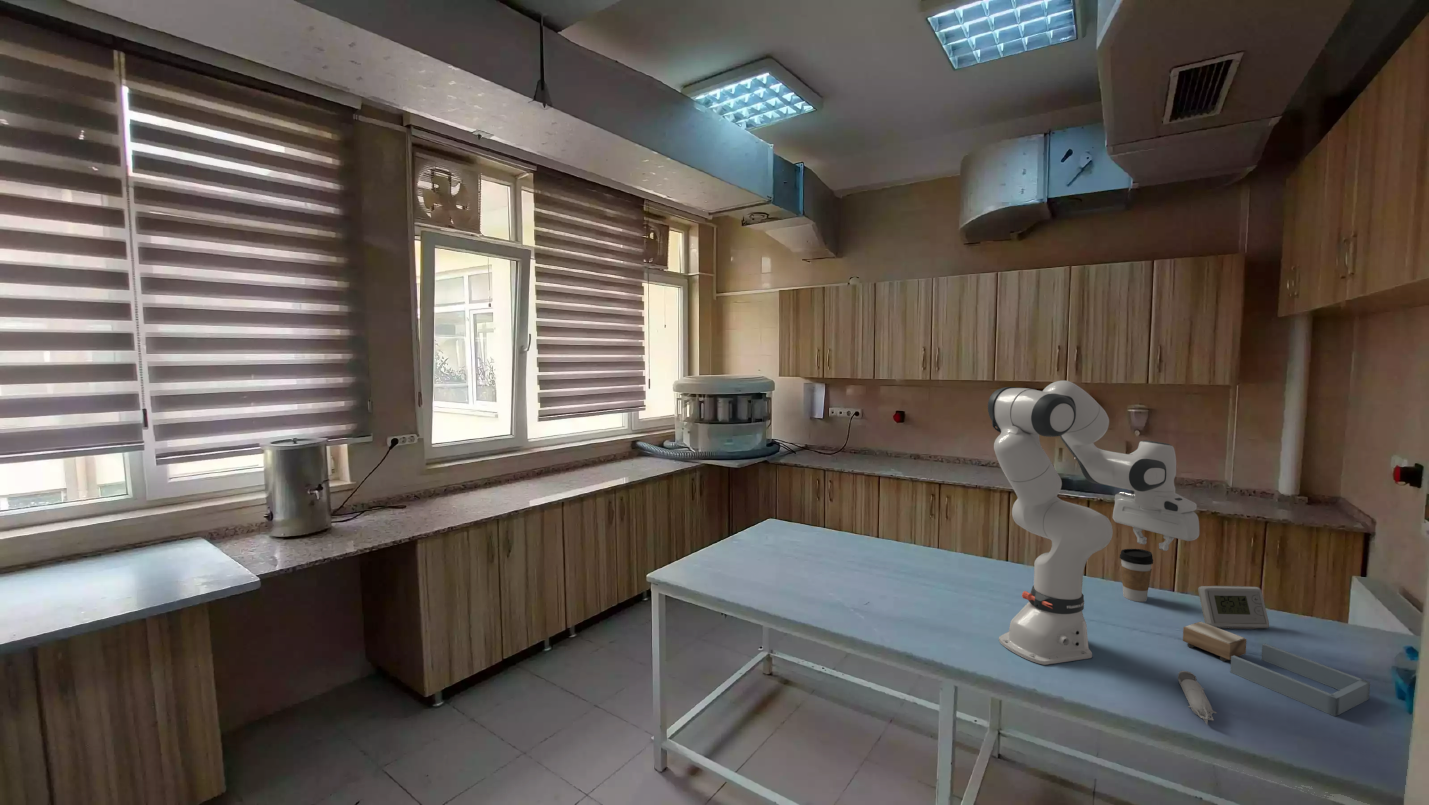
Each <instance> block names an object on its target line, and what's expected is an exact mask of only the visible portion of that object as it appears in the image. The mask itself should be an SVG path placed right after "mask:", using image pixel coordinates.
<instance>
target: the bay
mask: <svg viewBox="0 0 1429 805" xmlns="http://www.w3.org/2000/svg"><path fill="white" fill-rule="evenodd" d="M1260 658H1261V661H1264V662H1266V663H1268V664H1271V665H1273V666H1275V667H1276V666H1277V667H1279V668H1281V669H1284V670H1286V671H1289V672H1292V673H1294V674H1296V675H1300V676H1302V677H1305V678H1307V679H1309V680H1313V681H1315V682H1317V683H1320V684H1323V685H1324V686H1327V687H1330V688H1333V689H1336V690H1337V691H1335V692H1333V693H1329V692H1327V691H1326V690H1325V691H1324V690H1323V689H1321V688H1320V689H1319V688H1318V687H1314V686H1312V685H1309V684H1308V683H1305V682H1302V681H1300V680H1297V679H1294V678H1293V677H1290V676H1287V675H1285V674H1282V673H1279V672H1276V671H1275V670H1272V669H1269V668H1266V667H1265V666H1261V665H1259V664H1257V663H1255V662H1252V661H1249V660H1247V659H1244V658H1243V657H1242V658H1241V657H1240V656H1238V657H1237V656H1231V660H1230V669H1229V670H1230V673H1231V674H1233V675H1236V676H1239V677H1241V678H1243V679H1245V680H1248V681H1249V682H1252V683H1255V684H1257V685H1258V686H1259V685H1260V686H1262V687H1264V688H1267V689H1269V690H1272V691H1274V692H1276V693H1278V694H1281V695H1283V696H1285V697H1287V698H1291V699H1293V700H1295V701H1297V702H1299V703H1302V704H1304V705H1306V706H1309V707H1311V708H1314V709H1316V710H1319V711H1321V712H1323V713H1326V714H1328V715H1331V716H1333V717H1338V716H1339V715H1342V714H1344V713H1345V712H1347V711H1349V710H1350V709H1353V708H1355V707H1357V706H1358V705H1361V704H1362V703H1365V702H1366V701H1368V700H1370V694H1371V693H1370V689H1371V681H1368V680H1366V679H1362V678H1360V677H1358V676H1354V675H1352V674H1349V673H1347V672H1343V671H1341V670H1338V669H1336V668H1333V667H1330V666H1327V665H1324V664H1322V663H1319V662H1317V661H1313V660H1311V659H1308V658H1305V657H1303V656H1300V655H1298V654H1295V653H1292V652H1289V651H1287V650H1284V649H1281V648H1279V647H1276V646H1273V645H1270V644H1268V643H1263V644H1261V657H1260Z"/></svg>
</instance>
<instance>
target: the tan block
mask: <svg viewBox="0 0 1429 805" xmlns="http://www.w3.org/2000/svg"><path fill="white" fill-rule="evenodd" d="M1182 629H1183V630H1182V642H1185V643H1186V645H1187V647H1188V648H1189V649H1192V648H1195V647H1197V648H1199V649H1202V650H1204V651H1206V652H1209V653H1211V654H1214V655H1216V656H1219V660H1220V661H1222V662H1226V661H1231V656H1237V657H1241V656H1243V655H1245V654H1247V640H1248V639H1247V638H1245V637H1244V636H1241V635H1239V634H1235V633H1233V632H1230V631H1227V630H1224V629H1223V628H1220V627H1214V626H1211V625H1209V624H1206V623H1205V622H1203V621H1198V622H1195V623H1192V624H1189V625H1185V626H1183V628H1182Z"/></svg>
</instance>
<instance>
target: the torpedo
mask: <svg viewBox="0 0 1429 805" xmlns="http://www.w3.org/2000/svg"><path fill="white" fill-rule="evenodd" d="M1177 680H1178V683H1179V684H1180V687H1181V689H1182V691H1183V693H1184V697H1185V698H1186V700H1187V703H1188V704H1189V705H1188V708H1190V709H1191V710H1192V712H1193V713H1194V715H1196V716H1198V717H1199V718H1200V719H1203V721H1204V722H1205V724H1206V725H1207V726H1208V725H1209V721H1212V722H1214V721H1215V720H1214V717H1213V714H1218V712H1217V711H1215V710H1214V709H1213V707H1212V704H1211V703H1210V701H1209V699H1208V697H1207V695H1206V694H1205V691H1204V690H1205V688H1204V687H1202V686H1201V683H1199V682H1198V681H1197V676H1196V675H1195V674H1194V673H1192V672H1191V671H1186V670H1180V671H1178V674H1177Z"/></svg>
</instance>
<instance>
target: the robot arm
mask: <svg viewBox="0 0 1429 805" xmlns="http://www.w3.org/2000/svg"><path fill="white" fill-rule="evenodd" d="M987 413H988V416H989V418H990V420H991V424H992V425H991V426H992V427H993V429H994V430H995V431H996V432H998V433H1000V434H998V436H997V437H996V438H995V439H994V443H993V450H994V453H995V457H996V459H997V462H998V465H999V467H1000V468H1001V471H1002V472H1003V473H1004V476H1005V477H1006V479H1007V481H1008V483H1009V484H1010V486H1011V487H1012V489H1013V491H1014V493H1015V495H1016V497H1017V499H1016V500H1015V501H1014V503H1013V505H1012V509H1011V515H1012V519H1013V521H1014V523H1015V524H1016V525H1017V526H1019V527H1020V528H1022V529H1024V530H1025V531H1027V532H1028V533H1031V534H1033V535H1036V536H1039V537H1042V538H1044V539H1048V540H1051V548H1050V551H1048V552H1044V553H1042V554H1040V555H1039V556H1037V557H1036V558H1035V560H1034V562H1033V563H1034V565H1033V566H1034V568H1033V569H1034V570H1033V585H1032V587H1031V590H1030V592H1028V591H1026V590H1024V591H1022V594H1021V597H1022V598H1023V599H1025V600H1028V602H1027V603H1026V604H1025V605H1024V606H1023V607H1022V609H1020V611H1019V612H1018V613H1017V614H1016V615H1014V617H1013V618H1012V619H1011V620H1010V623H1009V628H1008V631H1007V632H1005V633H1003V634H1001V635H1000V636H999V637H998V641H999V643H1000V644H1001V645H1002V646H1003V647H1005V648H1006V649H1008V650H1009V651H1010V652H1012V653H1013V654H1015V655H1017V656H1019V657H1022V658H1023V659H1026V660H1028V661H1030V662H1033V663H1036V664H1039V665H1043V666H1045V665H1053V664H1059V663H1060V664H1061V663H1067V662H1072V661H1079V660H1087V659H1091V658H1092V657H1093V653H1092V651H1091V649H1090V648H1089V637H1088V628H1087V622H1086V619H1085V617H1084V614H1083V610H1085V609H1084V608H1085V607H1084V606H1085V598H1084V596H1085V595H1084V594H1083V581H1084V580H1083V579H1084V578H1083V577H1084V570H1085V567H1086V564H1087V562H1088V560H1089V558H1090V557H1091V556H1092V555H1093V554H1095V553H1098V552H1099V551H1102V550H1103V549H1104V548H1106V547H1107V546H1108V545H1109V544H1110V542H1111V540H1112V539H1113V538H1112V537H1113V533H1114V532H1113V524H1112V523H1111V520H1110V519H1109V518H1108V517H1107V516H1106V515H1104V514H1102V513H1101V512H1099V511H1097V510H1095V509H1093V508H1091V507H1088V506H1085V505H1080V504H1077V503H1072V502H1069V501H1066V500H1063V499H1061V498H1059V497H1058V495H1059V494H1060V492H1061V489H1062V486H1063V482H1062V478H1061V477H1060V475H1059V473H1058V471H1057V470H1056V468H1055V466H1054V465H1053V463H1052V461H1051V459H1050V458H1049V456H1048V455H1047V453H1046V451H1045V449H1044V448H1043V447H1042V444H1041V441H1040V440H1041V439H1040V436H1041V437H1048V438H1057V437H1060V439H1061V441H1062V443H1063V444H1064V445H1065V447H1066V448H1067V449H1068V451H1069V452H1070V453H1071V455H1072V456H1073V458H1074V459H1075V460H1076V461H1077V463H1078V465H1079V468H1080V470H1081V472H1082V475H1083V476H1084V478H1085V479H1086V481H1088V482H1090V483H1092V484H1096V485H1102V486H1103V485H1105V486H1110V487H1114V488H1118V489H1123V490H1128V491H1133V492H1134V493H1129V492H1125V491H1120V492H1117V493H1116V494H1115V495H1114V506H1113V512H1112V519H1113V521H1114V522H1115V523H1117V524H1120V525H1125V526H1129V527H1132V531H1133V533H1134V535H1135V537H1136V542H1137V544H1140V545H1147V543H1148V542H1147V540H1148V538H1147V537H1146V536H1144V534H1143V532H1142V531H1144V530H1145V531H1147V532H1151V533H1155V534H1159V535H1163V539H1165V540H1164V541H1162V542H1159V543H1158V550H1161V551H1165V552H1166V551H1169V548H1170V544H1171V543H1172V542H1173V540H1175V539H1178V540H1181V541H1182V540H1183V541H1186V542H1192V541H1196V540H1197V539H1198V538H1199V536H1200V521H1199V516H1198V514H1197V513H1196V512H1195V511H1196V510H1197V508H1198V504H1197V503H1196V502H1194V501H1193V500H1190V499H1188V498H1186V497H1184V496H1182V495H1180V494H1178V493H1176V486H1175V478H1176V476H1177V457H1176V450H1175V448H1174V446H1173V445H1172V444H1170V443H1168V442H1160V441H1154V440H1147V439H1146V440H1140V441H1139V443H1138V446H1137V449H1135V450H1134V451H1133V452H1131V453H1122V452H1115V451H1111V450H1106V449H1101V448H1099V447H1097V446H1096V444H1095V442H1097V441H1099V440H1100V439H1102V438H1103V437H1104V435H1105V434H1106V432H1108V429H1109V425H1110V418H1109V416H1108V414H1107V412H1106V410H1105V409H1104V408H1103V406H1101V404H1099V403H1098V402H1097V400H1095V398H1093V397H1092V395H1090V393H1088V392H1087V391H1086V390H1084V389H1083V388H1082V387H1080V386H1078V385H1077V384H1076V383H1074V382H1072V381H1070V380H1057V381H1054V382H1052V383H1051V382H1050V384H1048V385H1047V386H1046V387H1044V389H1043V390H1037V389H1035V388H1028V387H1027V388H1026V387H1016V386H1005V387H1002V388H998V389H996V390H994V392H992V394H991V395H990V396H989V398H988V401H987Z"/></svg>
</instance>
